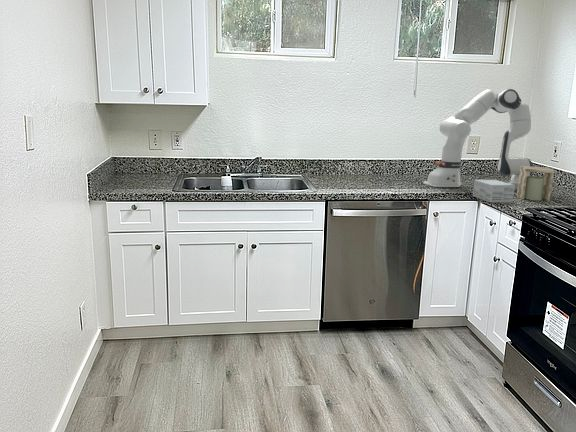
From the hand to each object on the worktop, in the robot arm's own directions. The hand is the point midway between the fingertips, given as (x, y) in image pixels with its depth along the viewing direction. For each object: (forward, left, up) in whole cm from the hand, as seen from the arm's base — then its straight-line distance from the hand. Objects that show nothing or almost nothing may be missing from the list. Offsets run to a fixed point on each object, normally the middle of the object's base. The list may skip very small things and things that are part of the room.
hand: (532, 188), depth 275 cm
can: (-2, -3, -5) cm, 6 cm away
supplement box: (-26, +1, -5) cm, 26 cm away
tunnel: (+2, +4, -5) cm, 6 cm away
